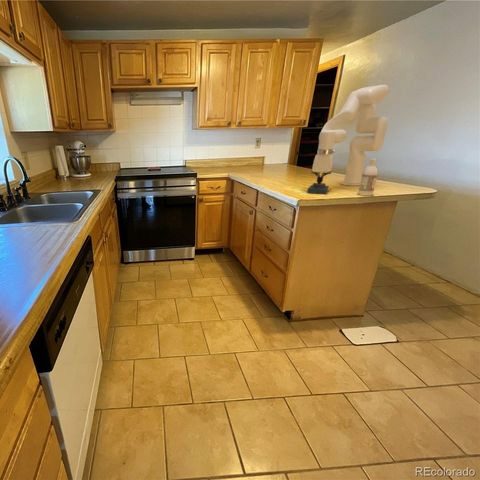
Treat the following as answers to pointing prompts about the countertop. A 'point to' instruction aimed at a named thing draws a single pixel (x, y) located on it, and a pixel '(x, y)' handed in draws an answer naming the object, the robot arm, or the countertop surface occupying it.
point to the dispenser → (318, 188)
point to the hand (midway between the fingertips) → (319, 183)
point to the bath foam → (368, 179)
